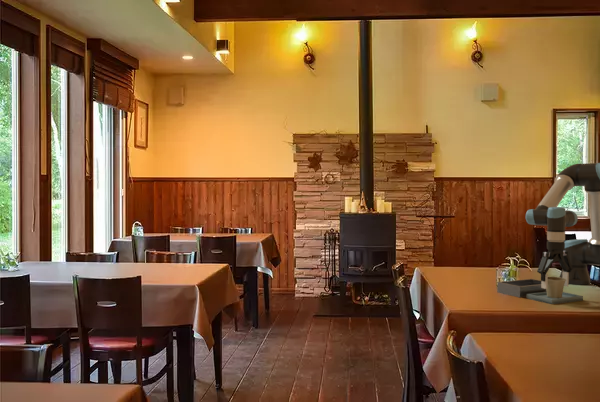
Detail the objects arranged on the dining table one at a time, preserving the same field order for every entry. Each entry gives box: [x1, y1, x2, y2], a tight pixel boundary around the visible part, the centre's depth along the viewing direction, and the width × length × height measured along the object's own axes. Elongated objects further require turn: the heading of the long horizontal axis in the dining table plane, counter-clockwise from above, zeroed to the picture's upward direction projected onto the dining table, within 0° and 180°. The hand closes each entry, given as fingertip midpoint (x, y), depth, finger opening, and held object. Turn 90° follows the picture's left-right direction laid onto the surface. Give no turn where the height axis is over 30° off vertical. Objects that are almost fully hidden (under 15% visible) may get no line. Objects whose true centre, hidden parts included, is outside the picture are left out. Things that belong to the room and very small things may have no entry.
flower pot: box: [546, 276, 566, 298], centre depth 260 cm, size 9×9×9 cm
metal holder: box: [496, 278, 547, 298], centre depth 275 cm, size 23×14×5 cm, turn 116°
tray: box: [526, 291, 584, 305], centre depth 261 cm, size 20×14×2 cm
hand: (554, 287), depth 260 cm, fingers open, 13 cm apart
